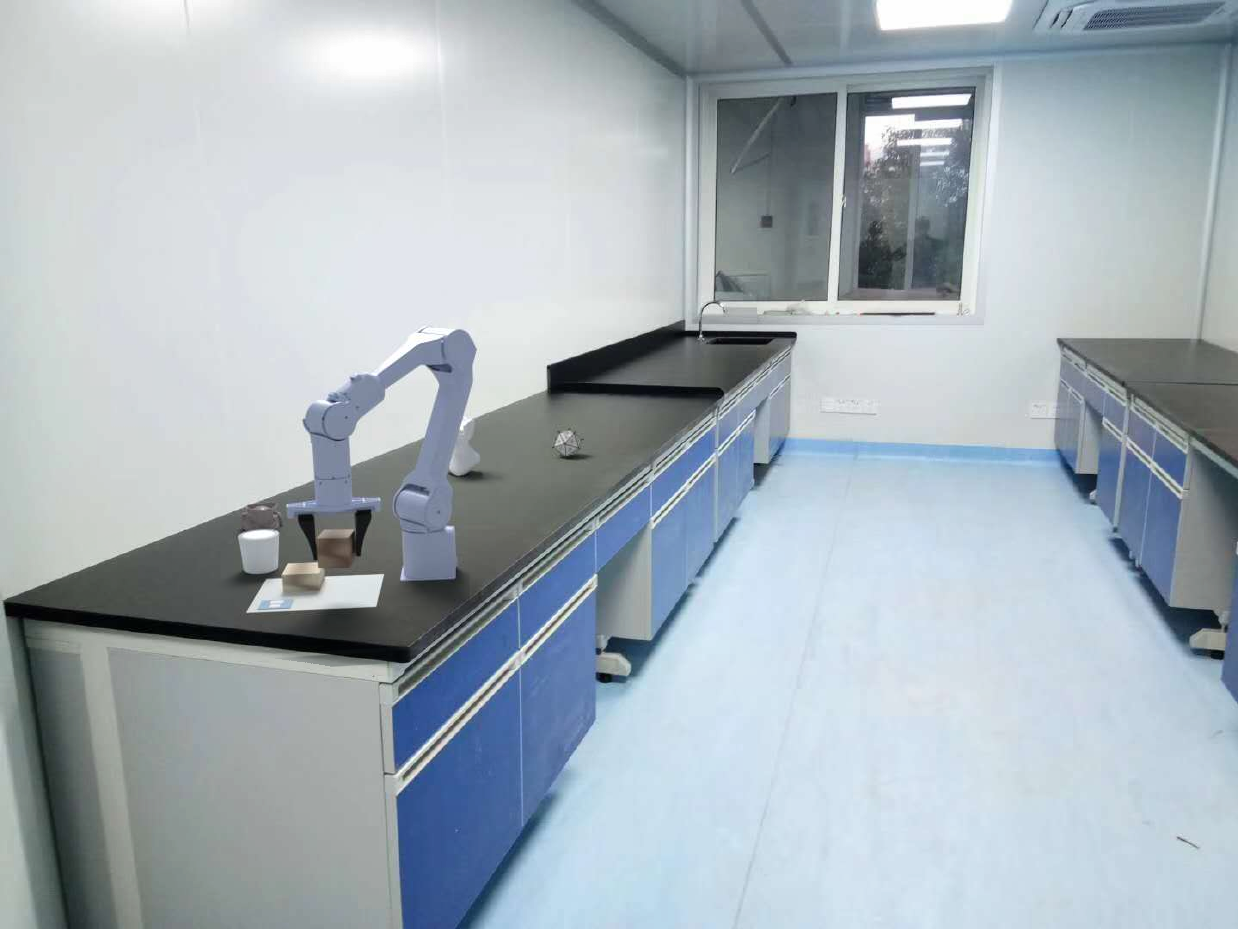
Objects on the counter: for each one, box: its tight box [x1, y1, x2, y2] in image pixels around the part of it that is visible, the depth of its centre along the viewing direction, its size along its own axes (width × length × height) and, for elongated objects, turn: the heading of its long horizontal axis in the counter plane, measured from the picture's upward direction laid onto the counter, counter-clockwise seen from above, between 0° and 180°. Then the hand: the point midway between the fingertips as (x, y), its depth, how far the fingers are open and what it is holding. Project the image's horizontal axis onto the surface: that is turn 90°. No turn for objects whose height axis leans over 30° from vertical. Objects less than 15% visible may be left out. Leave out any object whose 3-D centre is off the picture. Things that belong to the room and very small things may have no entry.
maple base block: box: [281, 561, 326, 592], centre depth 162 cm, size 6×6×3 cm
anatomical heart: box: [448, 415, 481, 477], centre depth 244 cm, size 10×11×15 cm
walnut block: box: [316, 528, 357, 569], centre depth 155 cm, size 5×5×5 cm
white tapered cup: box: [237, 529, 280, 575], centre depth 170 cm, size 7×7×7 cm
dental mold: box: [240, 502, 284, 532], centre depth 197 cm, size 8×7×5 cm
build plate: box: [245, 573, 385, 614], centre depth 159 cm, size 20×16×1 cm
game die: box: [550, 427, 584, 458], centre depth 268 cm, size 9×8×10 cm
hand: (337, 556), depth 155 cm, fingers closed on walnut block, 6 cm apart
